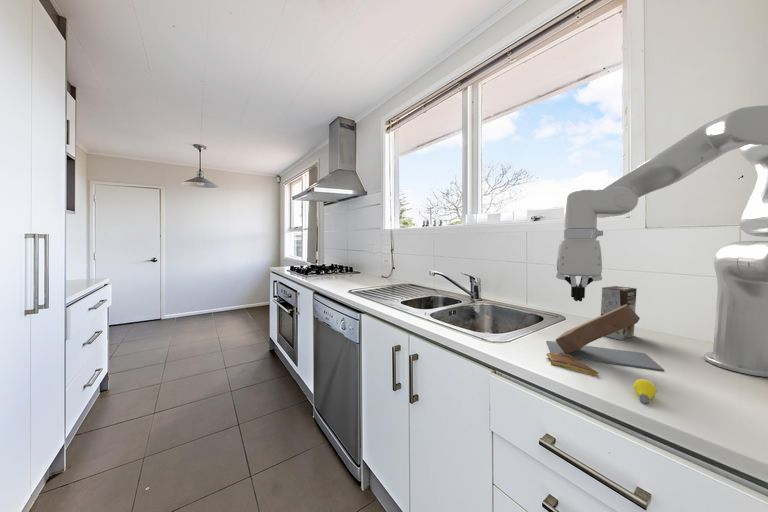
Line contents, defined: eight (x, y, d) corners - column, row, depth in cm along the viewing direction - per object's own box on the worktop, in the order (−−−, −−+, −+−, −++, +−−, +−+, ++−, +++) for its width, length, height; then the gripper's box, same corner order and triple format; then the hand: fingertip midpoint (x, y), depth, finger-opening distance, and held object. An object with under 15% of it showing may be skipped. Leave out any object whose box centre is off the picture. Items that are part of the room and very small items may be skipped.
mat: (645, 354, 80) (645, 353, 80) (664, 371, 70) (664, 369, 70) (546, 341, 89) (546, 340, 89) (550, 354, 79) (550, 353, 79)
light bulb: (651, 393, 60) (659, 381, 58) (650, 413, 56) (659, 401, 54) (631, 384, 62) (638, 372, 60) (629, 402, 58) (637, 390, 56)
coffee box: (622, 340, 90) (624, 290, 89) (599, 334, 96) (601, 287, 95) (634, 335, 95) (637, 288, 94) (611, 330, 100) (613, 285, 100)
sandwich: (599, 379, 67) (599, 371, 67) (565, 378, 67) (566, 371, 67) (570, 359, 78) (571, 353, 77) (542, 359, 78) (542, 352, 78)
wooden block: (565, 355, 78) (635, 327, 67) (554, 340, 80) (620, 310, 69) (575, 346, 84) (640, 318, 73) (564, 332, 86) (627, 303, 75)
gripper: (608, 235, 80) (606, 299, 81) (547, 235, 86) (546, 296, 87) (617, 234, 73) (614, 305, 74) (550, 235, 79) (548, 300, 80)
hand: (577, 300), depth 81 cm, fingers closed
